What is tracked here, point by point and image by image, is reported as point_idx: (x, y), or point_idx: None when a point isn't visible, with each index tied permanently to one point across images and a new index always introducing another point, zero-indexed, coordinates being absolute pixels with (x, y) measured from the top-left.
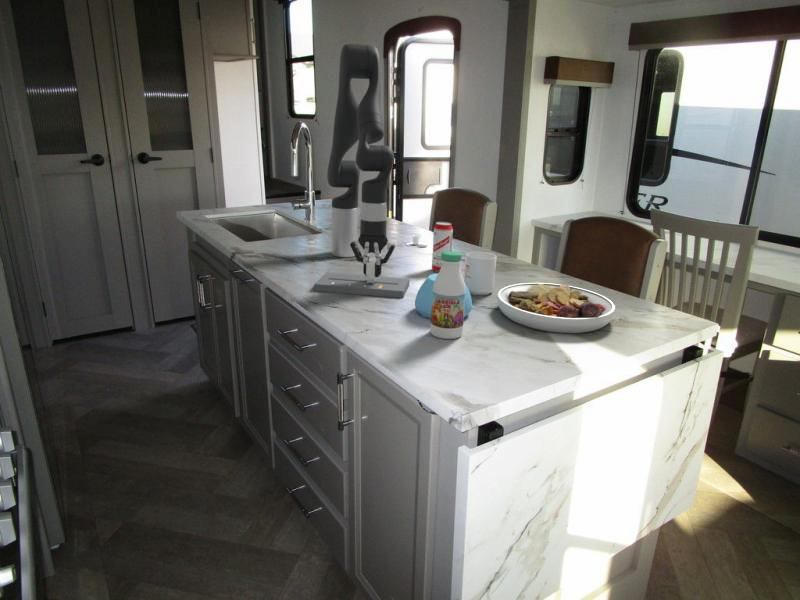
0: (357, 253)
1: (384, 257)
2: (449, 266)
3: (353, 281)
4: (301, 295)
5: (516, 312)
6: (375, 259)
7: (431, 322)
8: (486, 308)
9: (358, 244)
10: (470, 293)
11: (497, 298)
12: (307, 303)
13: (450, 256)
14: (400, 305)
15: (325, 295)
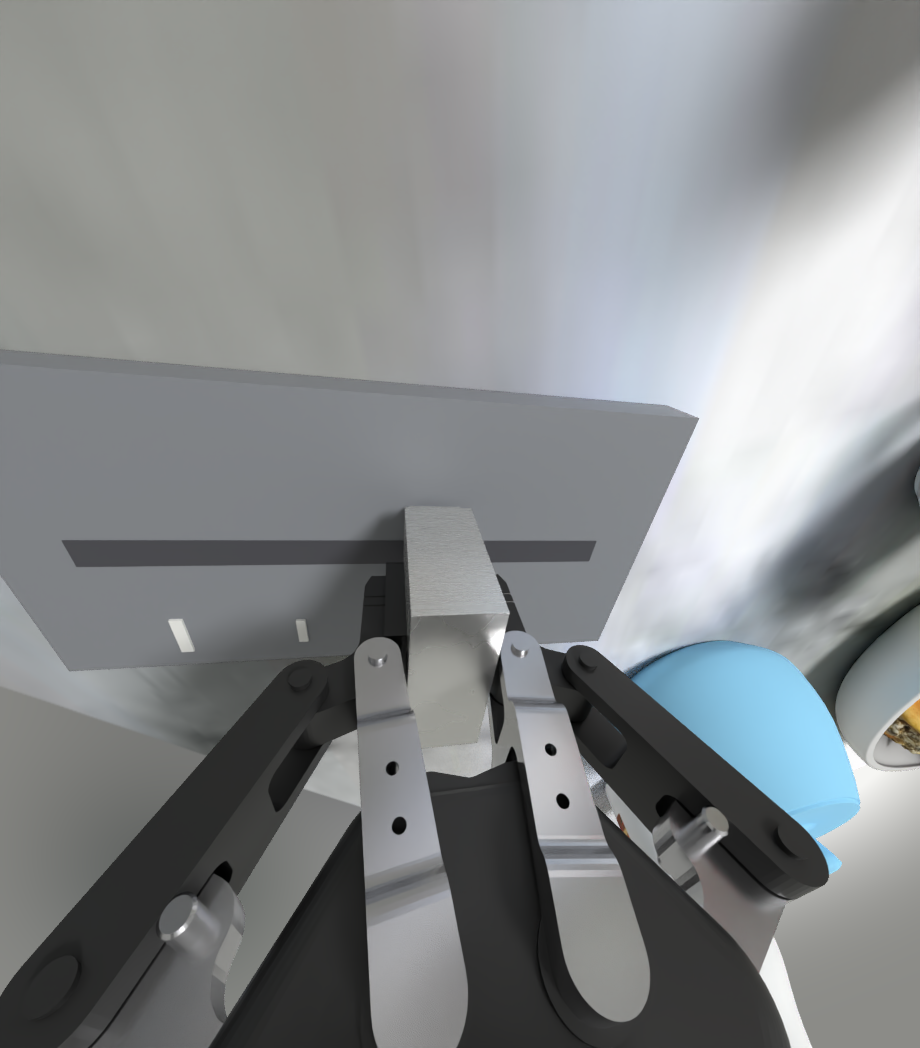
0: (272, 816)
1: (579, 751)
2: None
3: (299, 569)
4: (91, 699)
5: (855, 749)
6: (476, 659)
7: (617, 821)
8: (840, 629)
9: (223, 978)
10: (915, 490)
11: (899, 688)
12: (196, 750)
13: None
14: None
15: (213, 671)
